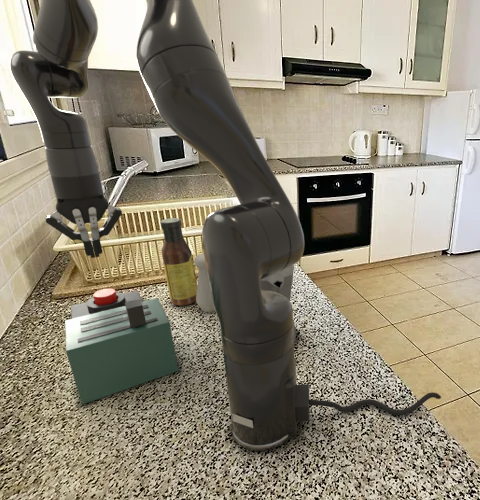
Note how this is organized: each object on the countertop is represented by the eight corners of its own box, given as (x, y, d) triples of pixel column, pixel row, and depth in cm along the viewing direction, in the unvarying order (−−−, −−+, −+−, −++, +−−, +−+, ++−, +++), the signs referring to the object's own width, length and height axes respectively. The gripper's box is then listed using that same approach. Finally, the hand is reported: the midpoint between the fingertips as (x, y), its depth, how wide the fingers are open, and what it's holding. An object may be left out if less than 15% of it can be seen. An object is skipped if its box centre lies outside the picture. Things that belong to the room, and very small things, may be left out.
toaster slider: (143, 316, 62) (139, 298, 61) (146, 323, 60) (142, 305, 59) (128, 320, 61) (124, 302, 60) (131, 328, 59) (126, 308, 58)
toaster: (166, 342, 73) (157, 297, 69) (178, 370, 65) (169, 321, 62) (79, 369, 65) (64, 319, 62) (82, 404, 58) (65, 350, 54)
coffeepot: (307, 350, 72) (305, 264, 65) (258, 363, 68) (250, 273, 61) (284, 312, 85) (280, 237, 78) (241, 321, 81) (234, 243, 74)
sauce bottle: (204, 298, 90) (194, 219, 82) (181, 309, 85) (168, 226, 77) (187, 291, 93) (175, 214, 86) (164, 301, 88) (149, 221, 81)
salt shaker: (215, 315, 82) (208, 261, 78) (192, 312, 84) (184, 259, 79) (228, 303, 88) (223, 252, 83) (206, 300, 89) (200, 249, 84)
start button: (116, 295, 83) (114, 286, 82) (118, 302, 80) (116, 294, 79) (94, 299, 81) (92, 291, 80) (96, 307, 78) (93, 299, 77)
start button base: (139, 298, 89) (136, 283, 88) (146, 317, 81) (143, 300, 80) (73, 314, 82) (68, 298, 80) (74, 336, 74) (69, 318, 73)
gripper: (28, 177, 64) (55, 270, 70) (117, 171, 71) (134, 255, 77) (30, 171, 69) (55, 257, 76) (113, 166, 77) (129, 244, 83)
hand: (95, 256), depth 77 cm, fingers closed
